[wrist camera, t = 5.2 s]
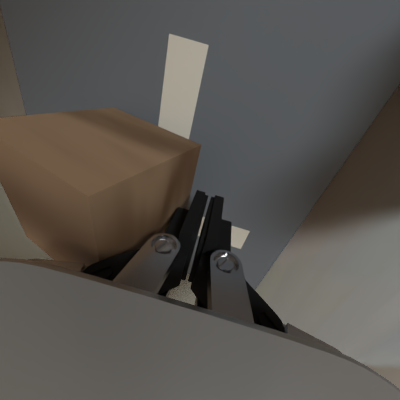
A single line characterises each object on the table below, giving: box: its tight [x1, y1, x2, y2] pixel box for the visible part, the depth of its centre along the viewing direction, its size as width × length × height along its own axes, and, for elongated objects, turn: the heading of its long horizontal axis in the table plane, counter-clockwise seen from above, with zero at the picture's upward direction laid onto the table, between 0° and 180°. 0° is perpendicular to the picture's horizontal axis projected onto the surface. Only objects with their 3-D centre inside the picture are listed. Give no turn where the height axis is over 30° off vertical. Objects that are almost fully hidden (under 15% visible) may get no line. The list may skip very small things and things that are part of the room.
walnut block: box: [0, 107, 201, 266], centre depth 10 cm, size 6×6×6 cm
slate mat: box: [0, 0, 400, 290], centre depth 13 cm, size 20×20×1 cm
